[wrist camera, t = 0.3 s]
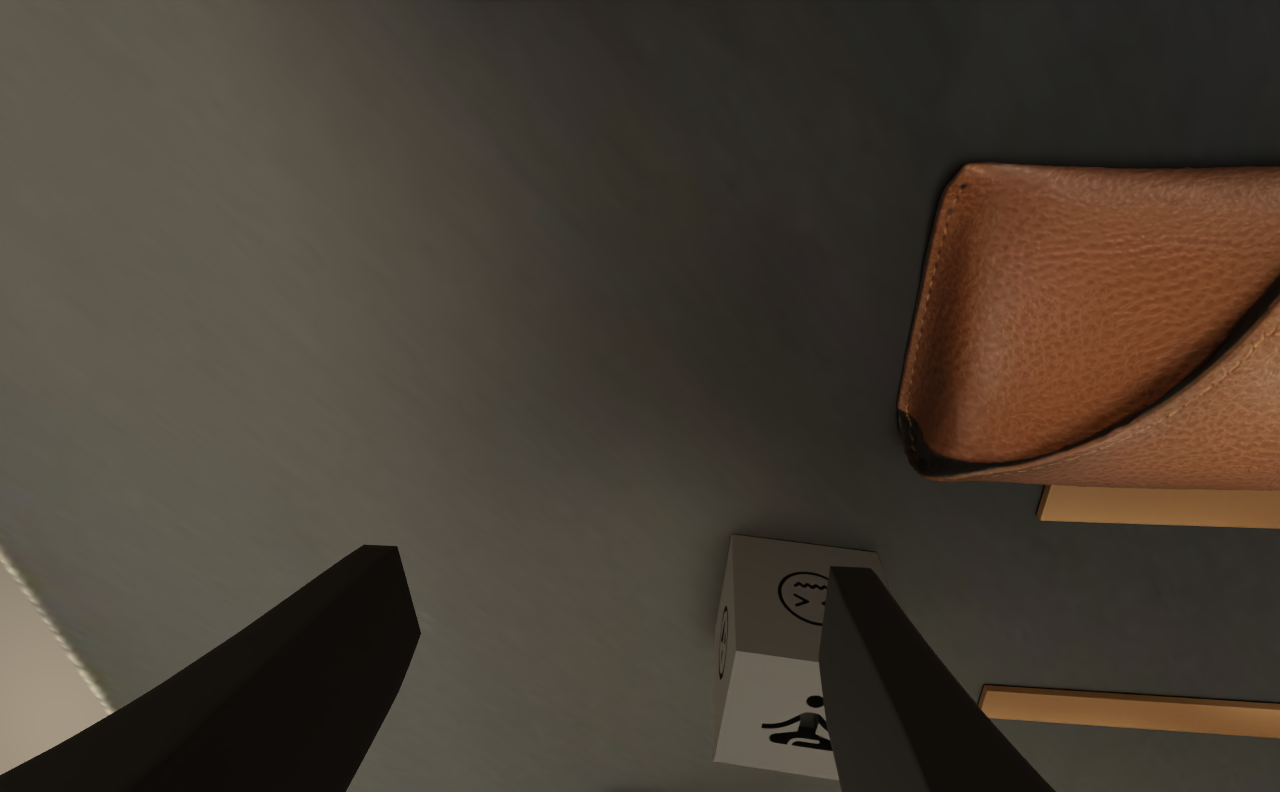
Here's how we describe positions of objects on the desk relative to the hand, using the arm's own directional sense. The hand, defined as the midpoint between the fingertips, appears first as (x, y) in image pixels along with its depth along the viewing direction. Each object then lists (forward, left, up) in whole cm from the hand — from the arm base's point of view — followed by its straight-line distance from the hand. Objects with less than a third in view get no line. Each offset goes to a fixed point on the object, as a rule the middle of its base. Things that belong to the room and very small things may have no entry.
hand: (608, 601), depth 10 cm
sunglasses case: (+2, -16, -10) cm, 19 cm away
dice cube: (-9, -5, -10) cm, 14 cm away
